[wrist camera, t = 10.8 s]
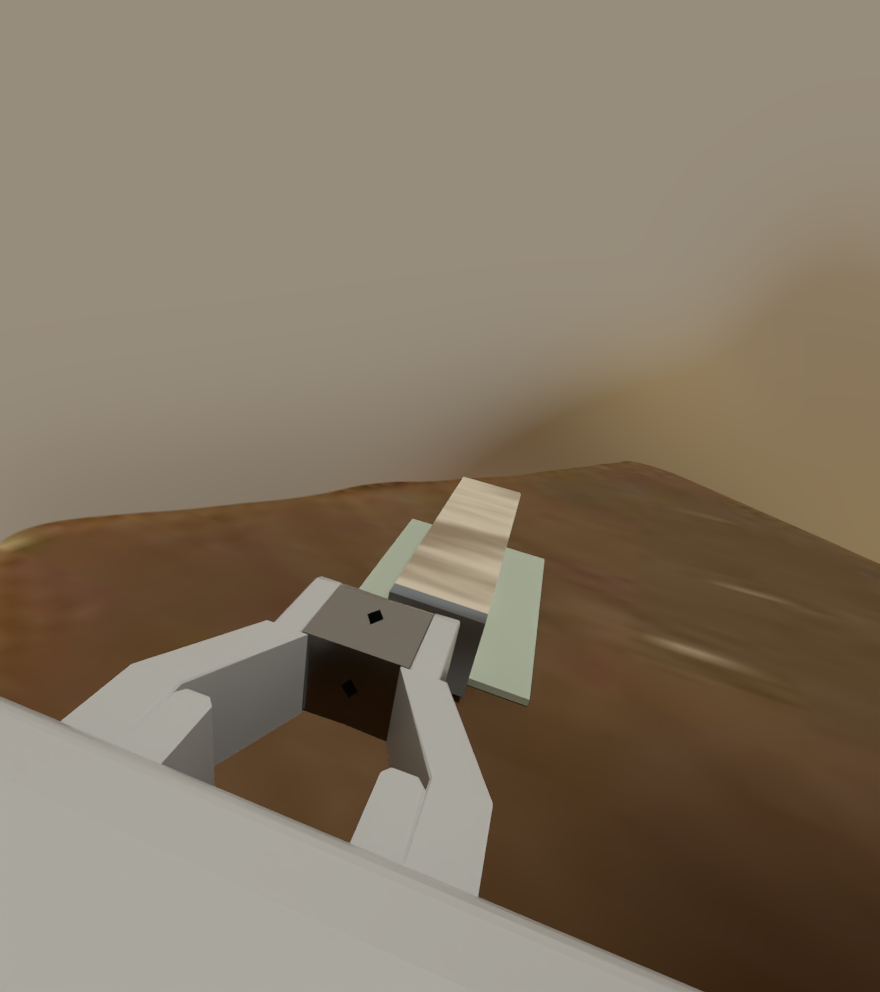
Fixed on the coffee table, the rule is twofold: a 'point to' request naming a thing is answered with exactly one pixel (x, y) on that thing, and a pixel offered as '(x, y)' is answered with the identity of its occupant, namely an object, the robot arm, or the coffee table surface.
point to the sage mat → (509, 620)
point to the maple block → (461, 567)
